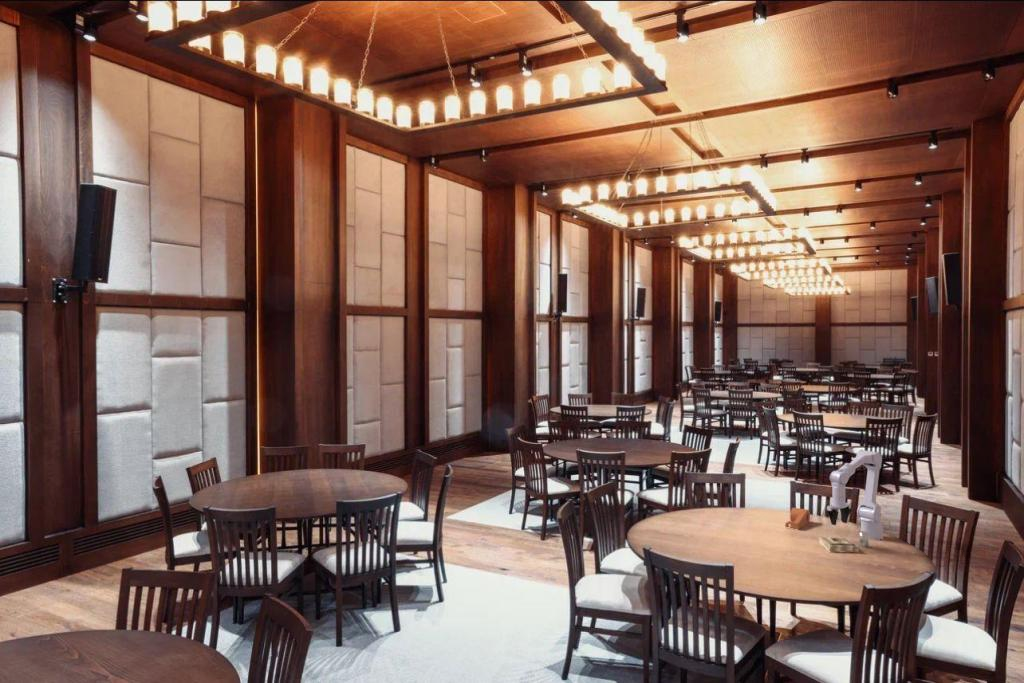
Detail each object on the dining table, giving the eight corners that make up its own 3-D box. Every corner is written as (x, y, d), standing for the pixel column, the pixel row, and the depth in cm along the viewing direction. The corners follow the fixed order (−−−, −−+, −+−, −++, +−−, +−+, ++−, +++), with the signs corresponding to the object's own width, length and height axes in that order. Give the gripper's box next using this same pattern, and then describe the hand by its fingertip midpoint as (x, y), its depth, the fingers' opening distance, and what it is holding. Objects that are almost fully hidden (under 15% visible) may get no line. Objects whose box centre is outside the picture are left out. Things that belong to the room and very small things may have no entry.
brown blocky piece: (795, 520, 382) (795, 506, 382) (810, 523, 377) (809, 508, 377) (782, 528, 367) (782, 513, 366) (798, 530, 361) (798, 515, 361)
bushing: (866, 545, 335) (866, 531, 335) (869, 548, 331) (869, 533, 331) (857, 545, 335) (857, 531, 335) (861, 547, 331) (861, 533, 331)
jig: (846, 543, 338) (846, 536, 338) (858, 552, 324) (858, 545, 324) (819, 543, 339) (819, 536, 339) (829, 552, 325) (829, 544, 325)
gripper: (841, 492, 343) (841, 519, 344) (821, 496, 337) (821, 523, 337) (854, 495, 337) (854, 523, 337) (834, 499, 331) (834, 527, 331)
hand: (839, 523), depth 337 cm, fingers open, 7 cm apart
